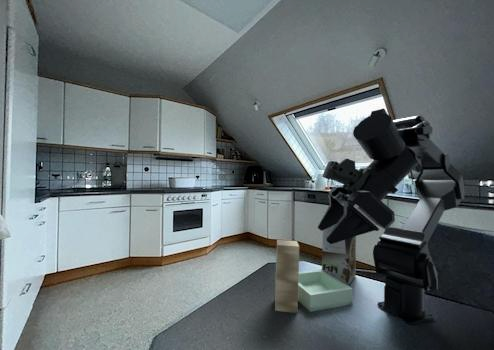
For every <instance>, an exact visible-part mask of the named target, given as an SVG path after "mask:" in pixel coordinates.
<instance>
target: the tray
mask: <svg viewBox="0 0 494 350" xmlns="http://www.w3.org/2000/svg"><path fill="white" fill-rule="evenodd" d="M353 302H354V288H352V287H351V286H347V285H346V284H344V283H342V282H341V281H339V280H337V279H336V278H334V277H332V276H330V275H329V274H327V273H325V272H324V271H322V269H317V270H308V271H307V270H306V271H299V276H298V303H300V304H302V306H303V307H304V308H306V309H307V310H308V311H309V312H316V311H323V310H328V309H332V308H333V309H334V308H339V307H345V306H349V305H353V304H354V303H353Z"/></svg>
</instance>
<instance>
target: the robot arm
mask: <svg viewBox="0 0 494 350" xmlns="http://www.w3.org/2000/svg"><path fill="white" fill-rule="evenodd" d="M432 133H433V127H432V125H431V123H429V121H428V120H426V119H425V117H424V116H422V115H420V114H419V115H415V116H410V117H405V118H404V117H403V118H398V119H394V120H393V118H392V117H391V115H390V114H388V112H387V111H386V109H385V108H381V109H376V110H372V111H371V112H370V115H369V116H367V117H365V118H363V119H362V120H361V121H360V122H359V123H358V124H356V126H354V128H353V132H352V134H353V137H354V139H355V140H356V142H358V145H360V147H361V149H362V150H363V151H364V152H365V154H366V156H368V158H369V159H371V160H372V161H371V163H370V164H368V165H367V166H366V167H365V168H359V169H357V168H356V161H355V160H351V159H349V158H344V159H342V160H341V161H340V162H339V161H336V160H335V161H333V160H331V161H328V162H327V163H326V167H325V169H324V171H323V173H322V178H324V179H327V180H329V179H330V180H332V181H335V182H337V183H340V184H342V185H340V186H339V185H337V186H336V185H334V186H333V187H332V188H331V189H330V190H329V191H328V196H327V197H328V202H329V205H328V207H327V209H326V211H325V212H324V215H323V216H322V219H321V220H320V222H319V223H318V225H317V229H318V230H320V231H321V232H323V230H325V229H327V228H329V227H331V226H333V225H335V224H336V225H335V227H334V228H333V230H332V231H331V232H330V234H329V235H328V237H327V238H326V241H327V242H328V243H330V244H334V243H337V242H340V241H342V240H345V239H348V238H351V237H355V236H356V237H357V236H360V235H361V236H362V235H364V234H367V233H370V232H371V233H372V232H379V231H380V229H383V230H384V231H383V233H382V235H379V237H378V239H379V240H378V241H377V242H376V243H375V245H374V246H373V248H372V259H373V262H374V268H375V274H376V275H381V276H383V277H385V278H384V279H385V280H384V281H385V282H384V287H383V289H384V290H383V293H384V294H383V301H378V302H377V307H380V308H381V309H383V310H385V311H386V312H388V313H389V314H391V315H393V316H395V317H396V318H397V319H399V320H401V321H403V322H404V323H406V324H408V325H416V324H420V323H423V322H428V321H431V320H434V319H435V316H434V315H433V314H431V313H430V312H427V311H426V310H425V309H426V308H425V307H426V296H425V295H426V293H425V292H426V291H430V290H432V291H433V290H435V291H437V290H438V289H439V279H438V271H437V269H436V265H435V263H434V262H433V261H434V260H433V258H432V256H431V254H430V251H429V246H428V243H429V241H430V240H431V237H432V235H433V234H434V231H435V229H436V228H437V226H438V224H439V222H440V220H441V218H442V216H443V214H444V212H445V211H448V210H452V209H455V208H457V207H458V206H459V204H460V203H461V200H462V201H464V199H465V194H466V193H465V183H464V179H463V174H462V173H461V172H460V171H459V170H458V169H457V168H456V167H454V165H452V164H451V159H450V155H449V153H446V152H443V151H442V150H441V149H440V148H439V147H438V146H437V145H436V144H435V143H434V142H433V140H432V139H431V135H432ZM441 170H442V171H443V172H444V173H445V174H446V175H447V176H448V177H449V178H450V179H423V177H422V175H423V174H424V172H425V171H441ZM412 171H413V172H416V173H419V174H418V175H417V177H416V179H415V181H414V185H415V189H416V193H417V196H418V198H419V199H418V200H419V201H418V202H417V203H416V205H415V207H414V208H413V209H412V211H411V212H410V214H409V216H408V217H407V218H406V220H405V222H403V225H402V226H401V227H400V228H399V227H394V226H393V227H392V225H393V224H394V223H395V218H396V217H395V211H393V210H392V209H391V208H390V207H389V206H388V205H386V204H385V203H384V202H383V200H384V199H385V198H386V197H387V196H388V195H389V194H391V195H395V194H396V193H397V192H398V191H399V189H398V188H397V186H398V185H399V184H400V183H401V182H402V181H403V180H404V179H405V178H406V177H407V176H408V175H409V174H410V173H411V172H412Z"/></svg>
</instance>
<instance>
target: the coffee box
mask: <svg viewBox="0 0 494 350" xmlns="http://www.w3.org/2000/svg"><path fill="white" fill-rule="evenodd" d="M335 225H336V224H335ZM335 225H333V226H331V227H329V228H327V229H325V230H323V231H322V251H321V253H322V254H321V270H322V271H324V272H325V273H327V274H329V275H330V276H332V277H334V278H336V279H337V280H339V281H341V282H342V283H344V284H346V285H347V286H349V285H350V284H351V283H352V281H354V279H355V277H356V272H357V271H356V268H357V267H356V265H357V264H356V262H357V236H355V237H351V238H348V239H345V240H342V241H340V242H337V243H334V244H330V243H328V242H327V241H326V238H327V237H328V235H329V234H330V232H331V231H332V230H333V228H334V227H335ZM354 276H355V277H354ZM353 278H354V279H353ZM349 287H350V286H349Z"/></svg>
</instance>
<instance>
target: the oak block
mask: <svg viewBox="0 0 494 350" xmlns="http://www.w3.org/2000/svg"><path fill="white" fill-rule="evenodd" d="M275 253H276V254H275V255H276V257H275V258H276V259H275V281H274V282H275V283H274V284H275V285H274V309H275V310H274V311H276V312H282V313H283V312H285V313H286V312H287V313H293V314H294V313H295V314H298V306H299V304H298V303H299V301H298V276H299V272H300V267H299V266H300V263H299V262H300V245H299V242H298V241H297V240H288V239H287V240H285V239H277V240H276V252H275Z"/></svg>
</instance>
